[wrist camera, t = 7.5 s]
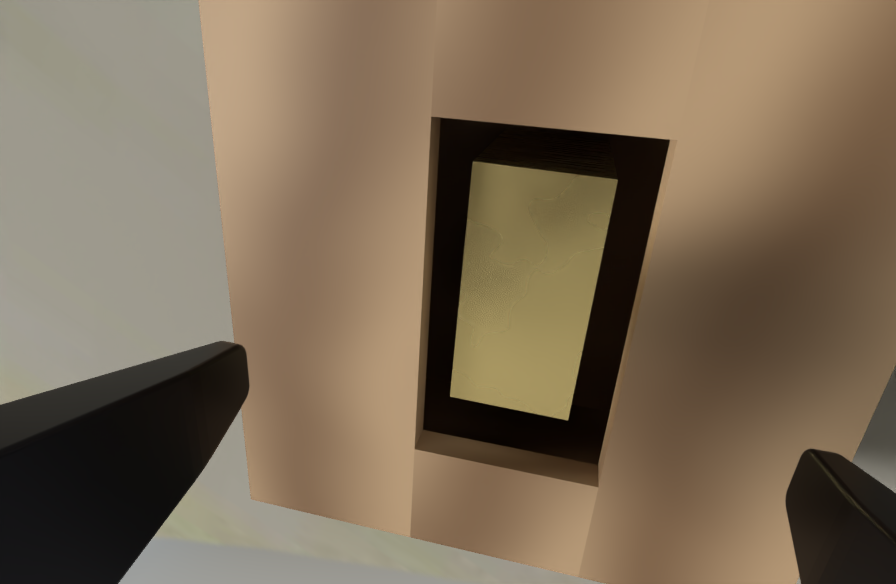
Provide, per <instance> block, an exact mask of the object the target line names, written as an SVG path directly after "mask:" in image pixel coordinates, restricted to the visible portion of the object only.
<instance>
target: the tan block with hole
mask: <svg viewBox="0 0 896 584" xmlns="http://www.w3.org/2000/svg"><path fill="white" fill-rule="evenodd" d="M199 10H200V20H201V29H202V39H203V48H204V58H205V67H206V77H207V86H208V96H209V105H210V115H211V124H212V134H213V143H214V153H215V162H216V172H217V181H218V191H219V200H220V210H221V219H222V229H223V238H224V248H225V257H226V267H227V276H228V286H229V295H230V305H231V314H232V324H233V333H234V343H236V344H241V345H242V346H243V347H244V348H245V350H246V353H247V362H248V372H249V383H250V387H249V393H248V396H247V398H246V400H245V402H244V404H243V405H242V407H241V409H242V419H243V428H244V438H245V447H246V457H247V466H248V476H249V485H250V495H251V499H252V500H256V501H260V502H265V503H269V504H273V505H277V506H282V507H286V508H290V509H294V510H298V511H303V512H307V513H311V514H315V515H319V516H324V517H328V518H332V519H336V520H340V521H345V522H349V523H353V524H357V525H361V526H366V527H370V528H374V529H378V530H383V531H387V532H391V533H395V534H399V535H404V536H408V537H412V538H416V539H420V540H425V541H429V542H433V543H437V544H441V545H446V546H450V547H454V548H458V549H462V550H467V551H471V552H475V553H479V554H484V555H488V556H492V557H496V558H500V559H505V560H509V561H513V562H517V563H521V564H526V565H530V566H534V567H538V568H542V569H547V570H551V571H555V572H559V573H563V574H568V575H572V576H576V577H580V578H585V579H589V580H593V581H597V582H601V583H606V584H796V582H797V580H798V578H799V571H798V566H797V561H796V556H795V551H794V546H793V541H792V536H791V531H790V526H789V521H788V516H787V511H786V504H785V499H786V492H787V489H788V486H789V484H790V481H791V479H792V476H793V474H794V471H795V469H796V467H797V464H798V462H799V459H800V457H801V455H802V453H803V452H804V451H805V450H807V449H810V448H811V449H818V450H824V451H829V452H835V453H838V454H840V455H842V456H843V457H845V458H846V459H848V460H849V461H850V462H852V460H853V458H854V455H855V453H856V451H857V449H858V447H859V445H860V442H861V440H862V438H863V436H864V434H865V431H866V429H867V427H868V425H869V423H870V420H871V418H872V416H873V414H874V412H875V410H876V407H877V405H878V403H879V401H880V399H881V396H882V394H883V392H884V390H885V388H886V385H887V383H888V381H889V379H890V377H891V375H892V372H893V370H894V368H895V366H896V0H199ZM507 128H510V129H519V130H527V131H536V132H545V133H553V134H562V135H571V136H579V137H588V138H597V139H605V140H609V141H610V145H611V150H612V155H613V159H614V164H615V168H616V173H617V178H618V182H617V186H616V191H615V196H614V201H613V206H612V211H611V215H610V220H609V225H608V230H607V235H606V240H605V244H604V249H603V254H602V259H601V264H600V269H599V273H598V278H597V283H596V288H595V293H594V298H593V302H592V307H591V312H590V317H589V322H588V327H587V331H586V336H585V341H584V346H583V351H582V356H581V360H580V365H579V370H578V375H577V380H576V385H575V389H574V394H573V399H572V404H571V409H570V414H569V418H568V420H563V419H558V418H553V417H549V416H544V415H539V414H534V413H529V412H524V411H519V410H514V409H509V408H504V407H499V406H494V405H489V404H484V403H479V402H474V401H469V400H464V399H460V398H455V397H450V390H451V380H452V370H453V359H454V349H455V339H456V329H457V318H458V308H459V298H460V288H461V278H462V267H463V257H464V247H465V237H466V226H467V216H468V206H469V196H470V185H471V175H472V165H473V161H474V160H475V159H476V158H477V157H478V156H479V155H480V154H481V153H482V152H483V151H484V150H485V149H486V148H487V147H488V146H489V145H490V144H491V143H492V142H493V141H494V140H495V139H496V138H497V137H498V136H499V135H500V134H501V133H502V132H504V131H505V130H506V129H507Z"/></svg>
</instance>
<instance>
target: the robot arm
mask: <svg viewBox="0 0 896 584" xmlns="http://www.w3.org/2000/svg"><path fill="white" fill-rule="evenodd" d="M249 387H250V383H249V372H248V362H247V353H246V350H245V348H244V347H243V346H242V345H241V344H236V343H231V342H225V341H219V342H215V343H212V344H208V345H205V346H201V347H198V348H194V349H191V350H188V351H184V352H181V353H177V354H174V355H170V356H167V357H163V358H160V359H157V360H153V361H150V362H146V363H143V364H139V365H136V366H132V367H129V368H126V369H122V370H119V371H115V372H112V373H108V374H105V375H102V376H98V377H95V378H91V379H88V380H84V381H81V382H77V383H74V384H71V385H67V386H64V387H60V388H57V389H53V390H50V391H46V392H43V393H40V394H36V395H33V396H29V397H26V398H22V399H19V400H15V401H12V402H9V403H5V404H2V405H0V584H118V583H119V582H120V580H121V579H122V578H123V576H124V575H125V574H126V572H127V571H128V570H129V568H130V567H131V566H132V564H133V563H134V562H135V560H136V559H137V558H138V556H139V555H140V554H141V552H142V551H143V550H144V549H145V547H146V546H147V545H148V543H149V542H150V541H151V539H152V538H153V537H154V535H155V534H156V533H157V531H158V530H159V529H160V527H161V526H162V525H163V523H164V522H165V521H166V519H167V518H168V517H169V515H170V514H171V513H172V511H173V510H174V509H175V507H176V506H177V505H178V503H179V502H180V501H181V499H182V498H183V497H184V495H185V494H186V493H187V491H188V490H189V489H190V487H191V486H192V485H193V483H194V482H195V481H196V479H197V478H198V476H199V475H200V473H201V472H202V471H203V469H204V468H205V466H206V465H207V463H208V462H209V460H210V458H211V457H212V455H213V454H214V452H215V450H216V449H217V447H218V445H219V444H220V442H221V440H222V439H223V437H224V435H225V434H226V432H227V430H228V429H229V427H230V425H231V424H232V422H233V420H234V419H235V417H236V415H237V414H238V412H239V410H240V409H241V407H242V405H243V404H244V402H245V400H246V398H247V396H248V393H249ZM785 504H786V511H787V516H788V521H789V526H790V531H791V536H792V541H793V546H794V551H795V556H796V561H797V566H798V571H799V576H800V581H801V584H896V493H894V492H893V491H892V490H890V489H889V488H887V487H886V486H885V485H883V484H882V483H880V482H879V481H877V480H876V479H875V478H873V477H872V476H870V475H869V474H868V473H866V472H865V471H863V470H862V469H860V468H859V467H858V466H856V465H855V464H853V463H852V462H850V461H849V460H848V459H846V458H845V457H843V456H842V455H840V454H838V453H835V452H829V451H824V450H818V449H811V448H810V449H807V450H805V451H804V452H803V453H802V455H801V457H800V459H799V462H798V464H797V467H796V469H795V471H794V474H793V476H792V479H791V481H790V484H789V486H788V489H787V492H786V499H785Z"/></svg>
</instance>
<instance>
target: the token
mask: <svg viewBox="0 0 896 584" xmlns="http://www.w3.org/2000/svg"><path fill="white" fill-rule="evenodd" d="M617 182H618V178H617V173H616V168H615V164H614V159H613V155H612V150H611V145H610V141H609V140H605V139H597V138H588V137H579V136H571V135H562V134H553V133H545V132H536V131H527V130H519V129H510V128H507V129H506V130H505V131H504V132H502V133H501V134H500V135H499V136H498V137H497V138H496V139H495V140H494V141H493V142H492V143H491V144H490V145H489V146H488V147H487V148H486V149H485V150H484V151H483V152H482V153H481V154H480V155H479V156H478V157H477V158H476V159H475V160H474V161H473V165H472V175H471V185H470V196H469V206H468V216H467V226H466V237H465V247H464V257H463V267H462V278H461V288H460V298H459V308H458V318H457V329H456V339H455V349H454V359H453V370H452V380H451V390H450V397H455V398H460V399H464V400H469V401H474V402H479V403H484V404H489V405H494V406H499V407H504V408H509V409H514V410H519V411H524V412H529V413H534V414H539V415H544V416H549V417H553V418H558V419H563V420H568V418H569V414H570V409H571V404H572V399H573V394H574V389H575V385H576V380H577V375H578V370H579V365H580V360H581V356H582V351H583V346H584V341H585V336H586V331H587V327H588V322H589V317H590V312H591V307H592V302H593V298H594V293H595V288H596V283H597V278H598V273H599V269H600V264H601V259H602V254H603V249H604V244H605V240H606V235H607V230H608V225H609V220H610V215H611V211H612V206H613V201H614V196H615V191H616V186H617Z"/></svg>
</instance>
